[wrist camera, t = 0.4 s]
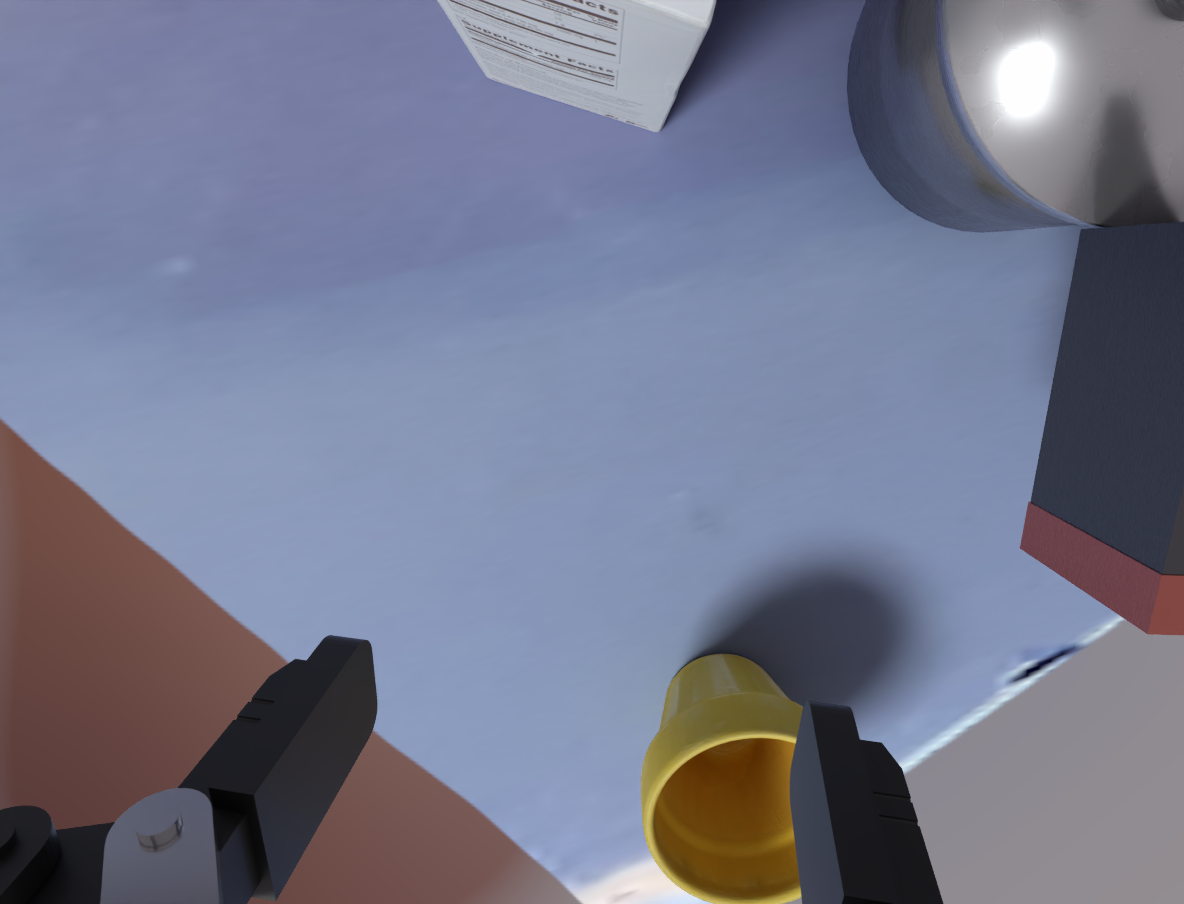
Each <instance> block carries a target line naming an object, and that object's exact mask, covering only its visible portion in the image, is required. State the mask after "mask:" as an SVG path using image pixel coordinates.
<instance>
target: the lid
mask: <svg viewBox="0 0 1184 904" xmlns="http://www.w3.org/2000/svg"><path fill="white" fill-rule="evenodd" d="M935 33H936V51H937V57H938V62H939V68H940V74H941V79H942V83H943V86H944V90H945V93H946V96H947V99H948V102H949V105H950V109H951V111H952V113H953V115H954V117H955V120H956V122H957V124H958V126H959V128H960V130H961V132H962V134H963V136H964V138H965V140H966V141H967V143H968V144H969V146H970V147H971V149H972V150H973V152H974V153H975V155H976V156H977V158H978V159H979V161H980V162H981V163H982V164H983V165H984V166H985V167H986V168H987V169H988V171H989V172H990V173H991V174H992V175H993V176H994V177H995V178H996V179H997V181H999V182H1000V183H1001V184H1002V185H1004V186H1005V187H1006V188H1007V189H1008V190H1010V191H1011V192H1012V193H1013V194H1014V195H1016V196H1017V197H1018V198H1020V199H1021V200H1023V201H1025V202H1026V203H1028V204H1030V205H1031V206H1033V207H1035V208H1036V209H1038V210H1040V211H1042V212H1044V213H1046V214H1049V215H1051V216H1054V217H1056V218H1059V219H1061V220H1064V221H1066V222H1070V223H1074V224H1078V225H1082V226H1086V227H1091V228H1094V229H1081V233H1080V238H1079V244H1078V249H1077V255H1076V260H1075V265H1074V271H1073V276H1072V281H1071V287H1070V292H1069V298H1068V303H1067V308H1066V314H1065V319H1064V325H1063V330H1062V335H1061V341H1060V346H1059V352H1058V357H1057V362H1056V368H1055V373H1054V378H1053V384H1052V389H1051V395H1050V400H1049V405H1048V411H1047V416H1046V422H1045V427H1044V432H1043V438H1042V443H1041V449H1040V454H1039V459H1038V465H1037V470H1036V475H1035V481H1034V486H1033V492H1032V497H1031V502H1028V508H1027V513H1026V518H1025V524H1024V529H1023V535H1022V540H1021V545H1020V549H1022V550H1023V551H1025V552H1026V553H1028V554H1029V555H1031V556H1032V557H1034V558H1035V559H1037V560H1038V561H1040V562H1041V563H1043V564H1044V565H1046V566H1047V567H1049V568H1050V569H1052V570H1053V571H1055V572H1056V573H1057V574H1059V575H1060V576H1062V577H1063V578H1065V579H1066V580H1068V581H1069V582H1071V583H1072V584H1074V585H1075V586H1077V587H1078V588H1080V589H1081V590H1083V591H1084V592H1086V593H1087V594H1089V595H1090V596H1092V597H1093V598H1095V599H1096V600H1098V601H1099V602H1101V603H1102V604H1104V605H1105V606H1107V607H1108V608H1110V609H1111V610H1113V611H1114V612H1116V613H1117V614H1119V615H1120V616H1122V617H1123V618H1124V619H1126V620H1127V621H1129V622H1130V623H1132V624H1134V625H1135V626H1136V627H1138V628H1139V629H1141V630H1143V631H1144V632H1145V633H1147V634H1161V635H1184V0H936V6H935Z"/></svg>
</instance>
